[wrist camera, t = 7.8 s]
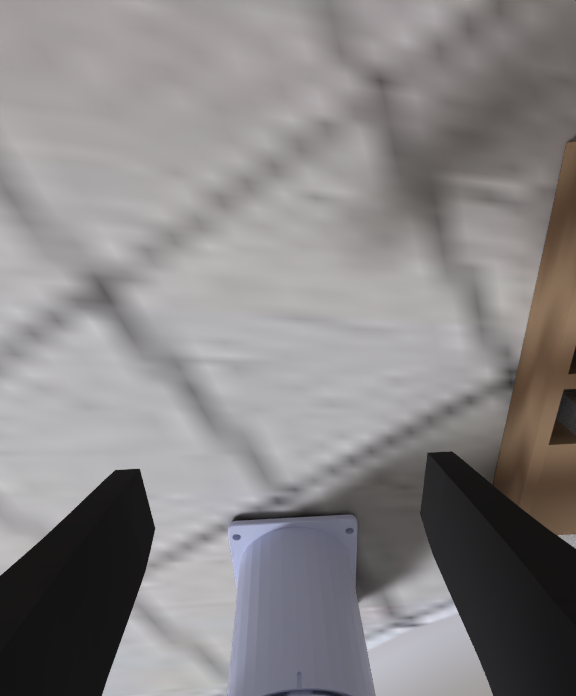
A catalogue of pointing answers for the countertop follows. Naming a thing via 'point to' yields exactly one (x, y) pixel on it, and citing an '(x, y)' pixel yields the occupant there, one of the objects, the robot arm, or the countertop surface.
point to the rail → (547, 378)
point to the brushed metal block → (568, 410)
